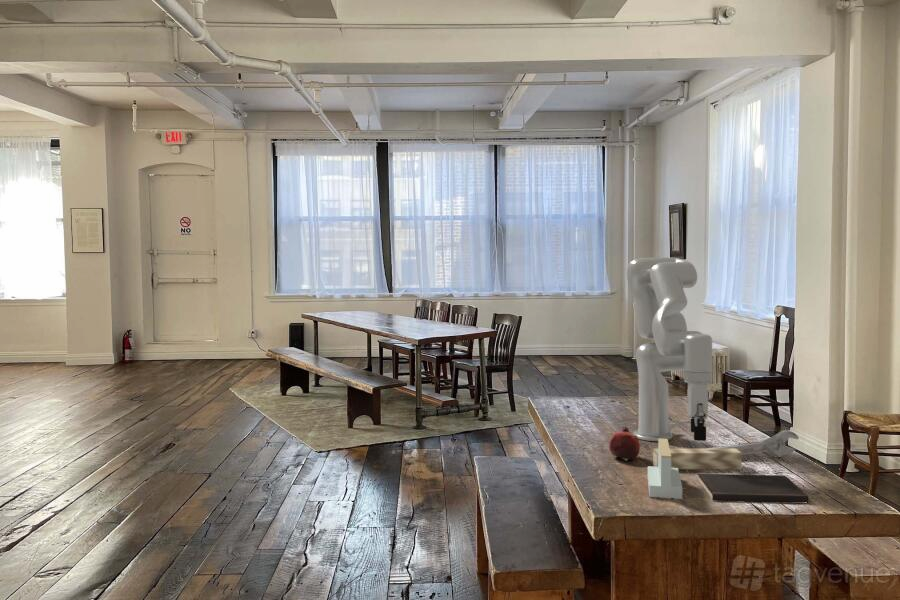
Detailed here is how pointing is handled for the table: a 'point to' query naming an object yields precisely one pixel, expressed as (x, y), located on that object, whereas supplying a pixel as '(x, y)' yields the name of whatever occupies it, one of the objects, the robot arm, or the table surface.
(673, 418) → the table surface
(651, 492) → the ridge stand
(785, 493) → the hardcover book
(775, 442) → the wrench
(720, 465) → the birch bar
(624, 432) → the fruit
